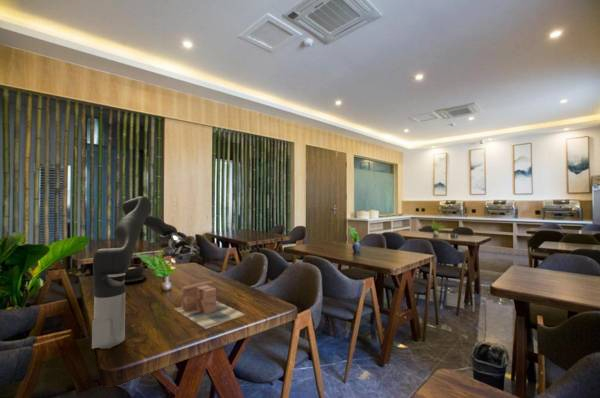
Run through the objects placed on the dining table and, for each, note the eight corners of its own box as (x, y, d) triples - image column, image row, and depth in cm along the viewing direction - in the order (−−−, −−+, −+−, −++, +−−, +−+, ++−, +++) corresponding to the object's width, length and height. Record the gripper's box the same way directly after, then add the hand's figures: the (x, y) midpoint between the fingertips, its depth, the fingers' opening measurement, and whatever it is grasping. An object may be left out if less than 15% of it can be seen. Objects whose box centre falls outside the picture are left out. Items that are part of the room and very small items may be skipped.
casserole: (108, 278, 181) (108, 265, 181) (140, 273, 194) (140, 261, 194) (115, 287, 163) (116, 272, 163) (151, 281, 175) (151, 267, 175)
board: (173, 310, 129) (173, 308, 129) (211, 300, 143) (211, 298, 143) (205, 330, 109) (205, 328, 109) (245, 316, 123) (245, 314, 123)
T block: (181, 308, 129) (181, 286, 129) (209, 300, 139) (209, 280, 139) (195, 317, 120) (196, 293, 120) (224, 308, 130) (224, 286, 130)
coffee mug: (115, 296, 147) (116, 277, 147) (102, 295, 149) (102, 276, 149) (133, 289, 158) (133, 272, 158) (120, 288, 160) (120, 271, 160)
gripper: (164, 240, 146) (176, 252, 135) (191, 236, 156) (204, 247, 144) (164, 253, 147) (175, 266, 136) (190, 248, 157) (203, 260, 146)
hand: (190, 256), depth 140 cm, fingers open, 8 cm apart
